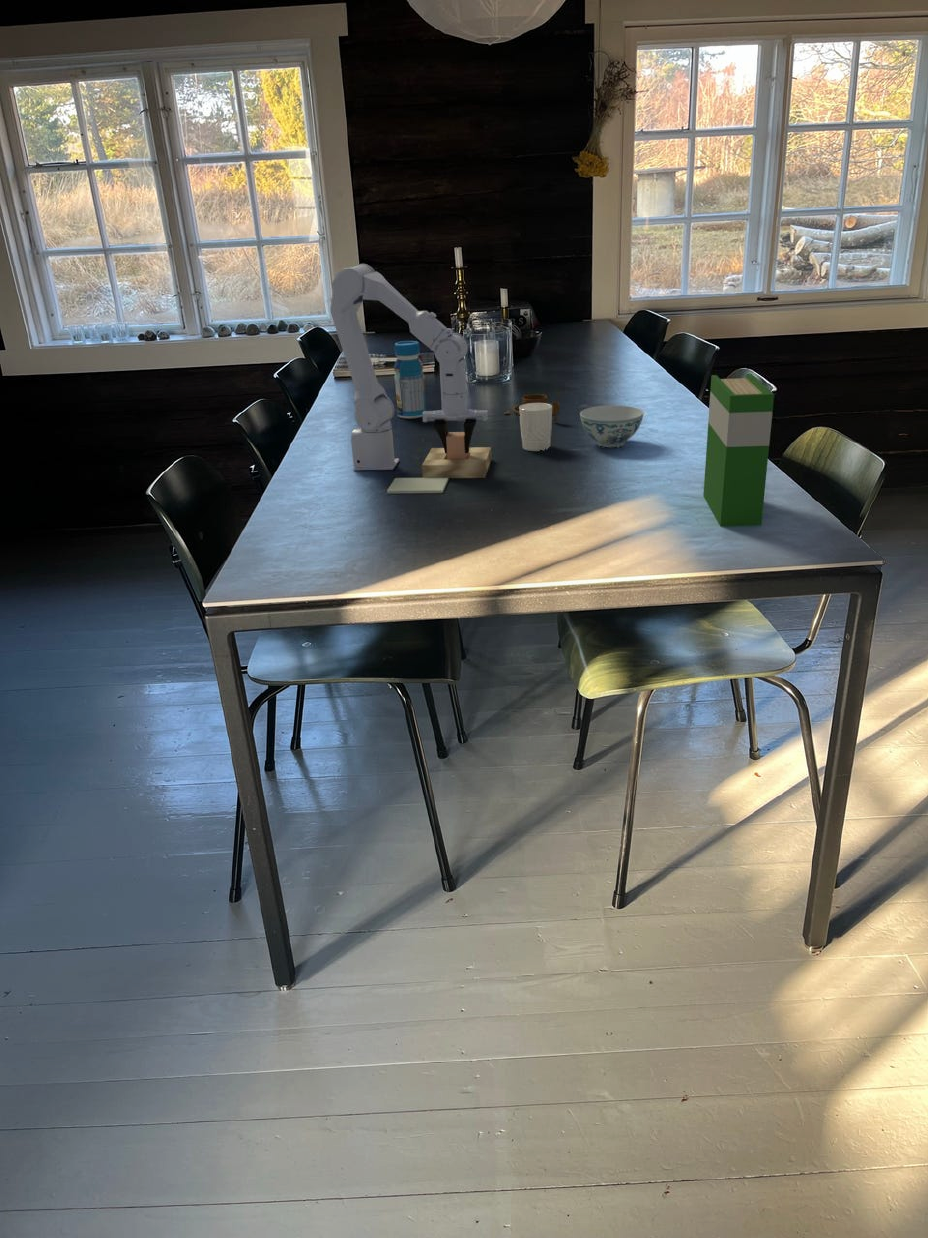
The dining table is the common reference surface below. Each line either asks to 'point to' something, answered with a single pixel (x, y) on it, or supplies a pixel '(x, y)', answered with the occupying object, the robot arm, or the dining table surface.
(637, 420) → the chinaware
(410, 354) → the beverage bottle
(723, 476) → the hardback book
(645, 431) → the dining table surface
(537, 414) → the white cup
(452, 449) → the terracotta block
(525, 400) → the place setting
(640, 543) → the dining table surface
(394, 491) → the mat
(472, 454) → the pocket block
